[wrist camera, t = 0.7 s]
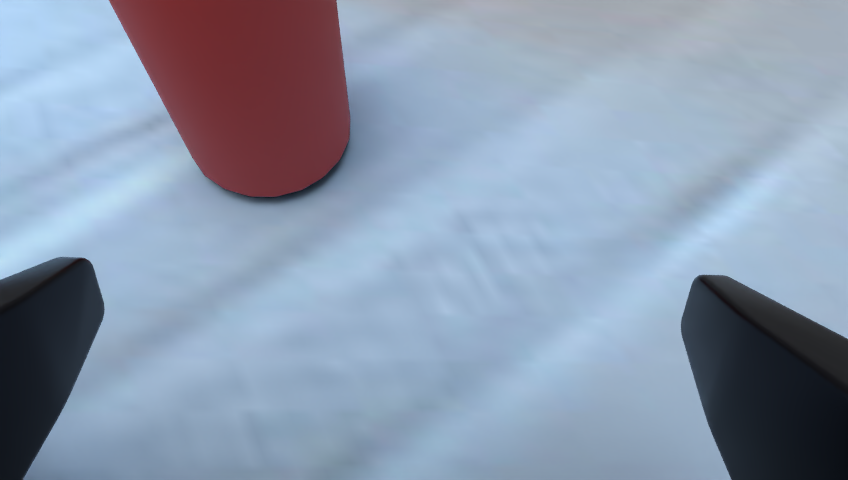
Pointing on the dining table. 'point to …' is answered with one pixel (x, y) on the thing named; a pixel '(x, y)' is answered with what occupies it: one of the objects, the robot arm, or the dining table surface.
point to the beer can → (248, 86)
